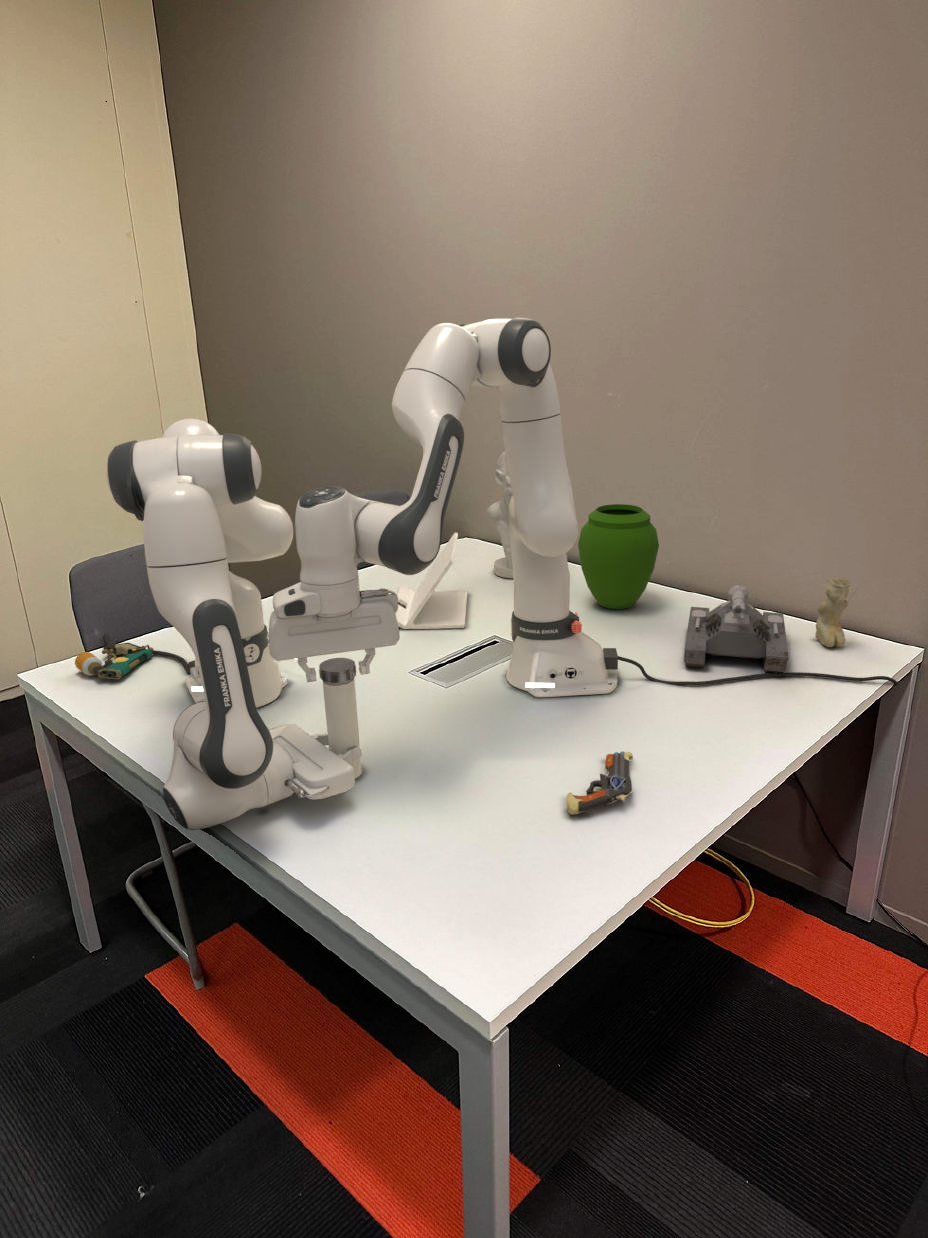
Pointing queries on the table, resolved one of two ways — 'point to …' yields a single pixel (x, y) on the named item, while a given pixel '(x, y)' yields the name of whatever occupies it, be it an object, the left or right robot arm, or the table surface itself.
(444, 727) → the table surface
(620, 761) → the toy gun
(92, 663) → the spray gun
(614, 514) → the vase
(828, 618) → the sculpture
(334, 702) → the beige tall cylinder
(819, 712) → the table surface
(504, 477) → the bust sculpture
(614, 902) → the table surface
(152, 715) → the table surface
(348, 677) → the lid
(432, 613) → the tablet stand
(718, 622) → the toy
